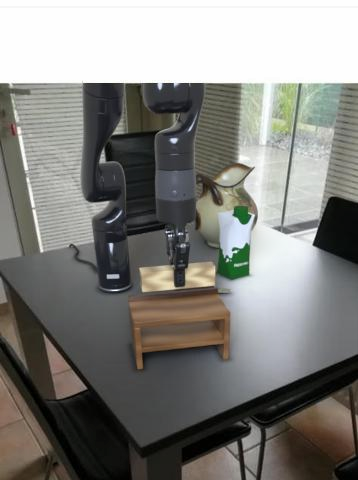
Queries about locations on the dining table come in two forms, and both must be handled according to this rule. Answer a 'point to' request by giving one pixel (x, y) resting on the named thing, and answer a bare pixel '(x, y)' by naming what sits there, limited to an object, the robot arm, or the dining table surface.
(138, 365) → the shelf
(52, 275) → the dining table surface
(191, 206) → the robot arm
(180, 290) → the ice cream bar
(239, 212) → the milk carton
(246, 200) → the pitcher
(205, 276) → the beech stick
